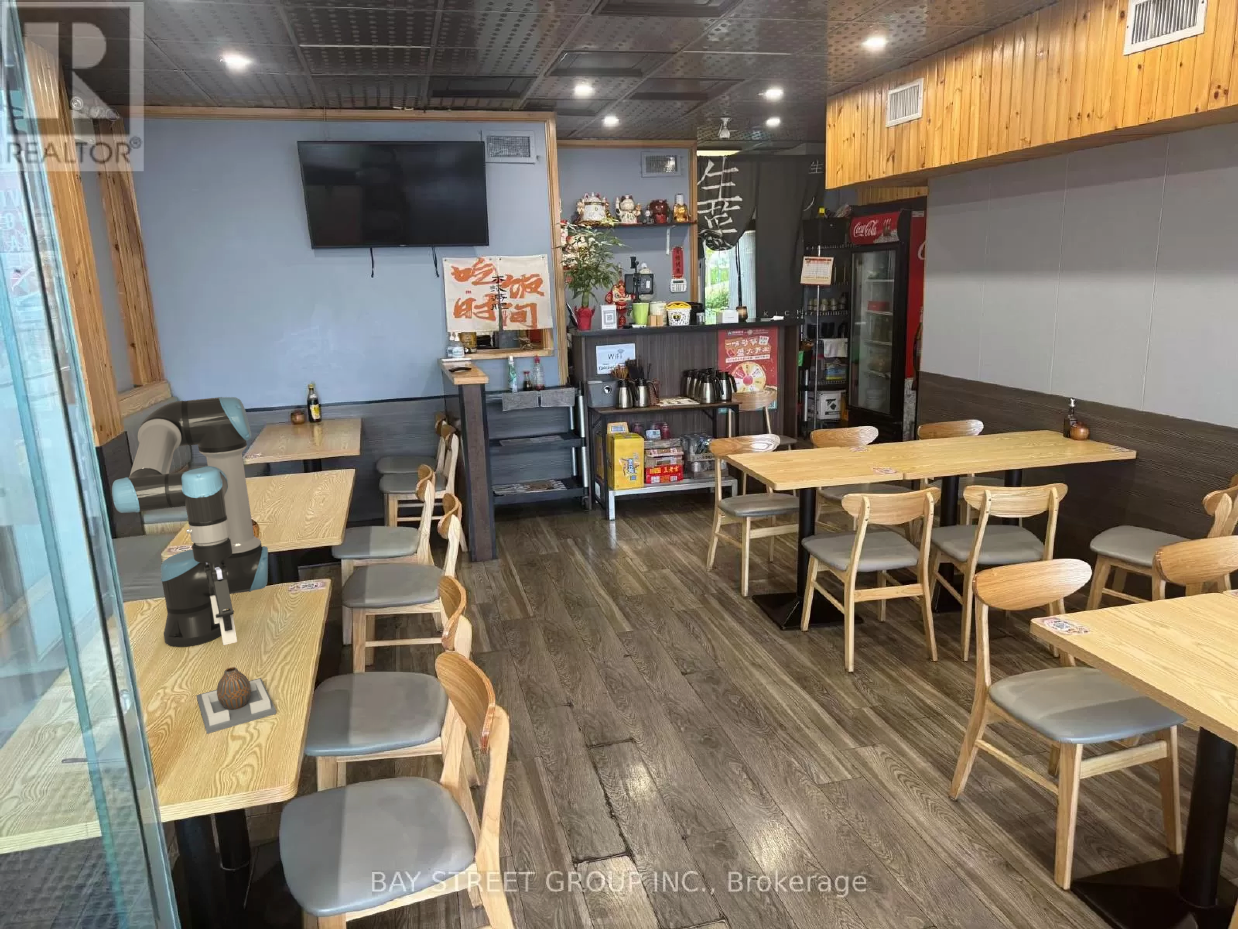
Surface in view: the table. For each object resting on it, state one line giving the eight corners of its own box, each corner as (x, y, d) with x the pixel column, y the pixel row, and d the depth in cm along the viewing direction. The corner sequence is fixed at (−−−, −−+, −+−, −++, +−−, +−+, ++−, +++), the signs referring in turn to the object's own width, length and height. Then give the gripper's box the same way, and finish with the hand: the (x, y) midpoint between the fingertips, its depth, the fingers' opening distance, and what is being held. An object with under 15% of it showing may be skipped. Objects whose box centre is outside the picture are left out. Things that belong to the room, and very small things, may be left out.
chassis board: (197, 699, 193) (195, 687, 192) (261, 682, 200) (259, 670, 199) (206, 733, 178) (204, 720, 177) (276, 713, 185) (274, 700, 184)
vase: (243, 694, 192) (238, 659, 190) (258, 703, 187) (253, 667, 185) (213, 707, 186) (207, 671, 184) (228, 716, 182) (222, 679, 180)
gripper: (185, 530, 187) (199, 617, 192) (198, 559, 166) (214, 657, 171) (221, 523, 191) (235, 610, 196) (239, 552, 170) (253, 647, 175)
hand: (225, 632), depth 183 cm, fingers open, 13 cm apart
